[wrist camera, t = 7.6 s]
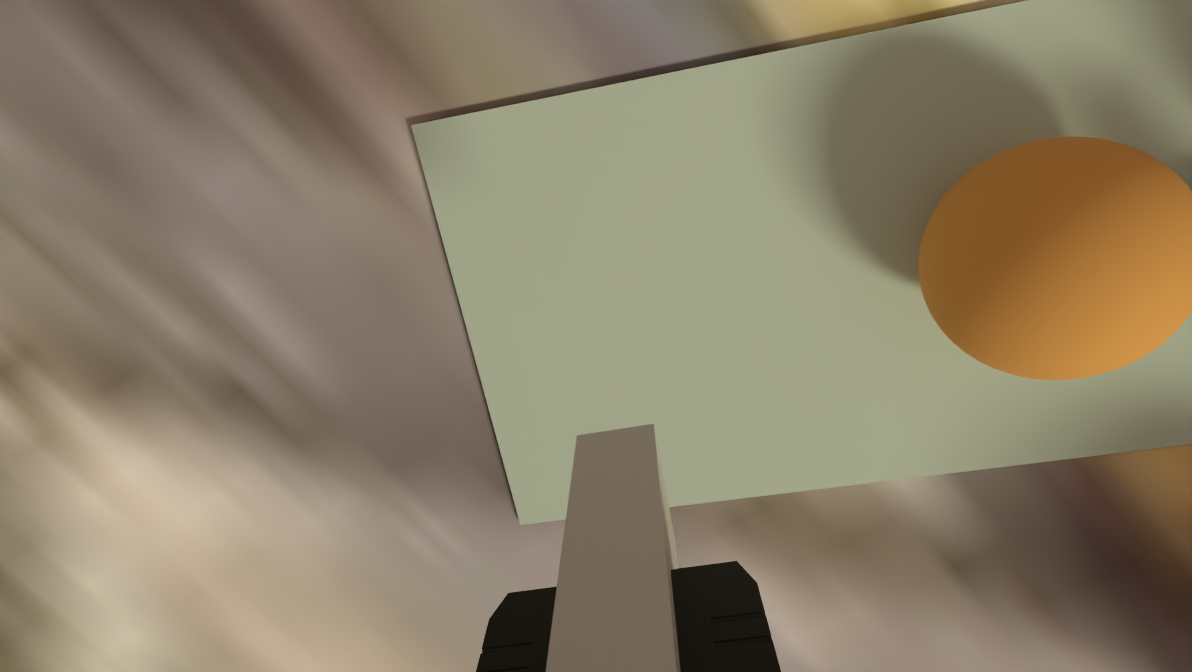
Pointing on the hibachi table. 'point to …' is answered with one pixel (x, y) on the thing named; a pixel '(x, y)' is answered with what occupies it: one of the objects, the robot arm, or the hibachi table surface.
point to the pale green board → (792, 254)
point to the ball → (1060, 258)
